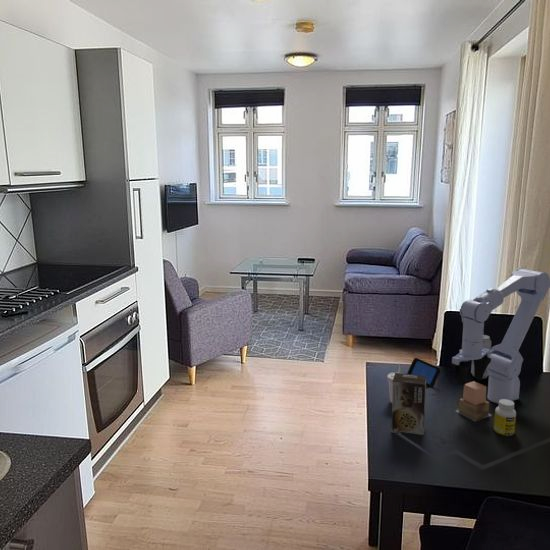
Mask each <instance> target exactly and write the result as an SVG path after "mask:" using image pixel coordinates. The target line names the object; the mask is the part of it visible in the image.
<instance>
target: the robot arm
mask: <svg viewBox="0 0 550 550" xmlns="http://www.w3.org/2000/svg"><path fill="white" fill-rule="evenodd" d="M549 289H550V276H549V273H548V272H546V271H536V270H532V269H526V268H523V267H517V268H516V269H514V271H511V273H510V277H509V278H507V280H505V281H503V283H502V284H500V285H499V286H498V287H497V288H494V287H488V288H487V289H486V290H485V291H484V292H482V293H481V294H479V295H478V296H476V297H474V299H467V300H465V301H463V303H462V304H461V305H460V308H459V314H460V316H461V322H462V340H461V341H462V343H461V349H459V353H457V354H456V355H455V356H452V357H451V361H450V365H451V367H452V368H453V370H454V372H455V376H456V381H457V385H460V386H462V387H464V385H465V384H467V383H466V381H467V376H468V372H469V369H470V367H471V365H467V364H466V362H469V361H472V360H473V361H474V376H475V377H474V376H473V377H474V379H476V380H479V381H482V380H483V379H482V378H483V375H484V372H485V370H486V369H487V373H489V375H488V384H487V395H486V398H487V400H489V401H490V402H493V403H496V404H499V400H501V399H507V400H511V401H513V402H514V401H516V400H519V399H520V396H519V395H520V387H521V381H520V378H519V376H520V373H521V369H522V365H523V362H524V358H523V356H522V354H521V353H520V351H519V350H520V348H521V346H522V343H523V341H524V340H525V337H526V335H527V333H528V331H529V329H530V326H531V324H532V322H533V321H534V318H535V316H536V314H537V311H538V310H539V307H540V306H541V302H543V301H544V299H545V298H546V296H547V293H548V292H549ZM515 292H516V294H517V295H518V296H520V299H521V301H520V303H519V305H518V307H517V310H516V311H515V313H514V316H513V318H512V320H511V323H510V324H509V327H508V328H507V331H506V333H505V335H504V337H503V339H502V341H501V343H499V344H496V345H494V346H491V351H490V350H489V349H486V348H484V349H482V345H483V335H484V329H485V328H484V327H485V321H487V320H488V318H489V317H490V315H491V314H492V312H493V311H494V310H496V309H497V308H498V307H499V306H501V305H503V303H504V301H505V299H504V298H506V297H508V296H510V295H512V294H514V293H515Z"/></svg>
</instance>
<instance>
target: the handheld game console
mask: <svg viewBox="0 0 550 550" xmlns="http://www.w3.org/2000/svg"><path fill="white" fill-rule="evenodd" d="M441 371H442V370H441V368H440V367H439V366H436V365H434V364H431V363H429V362H427V361H424V360H423V359H420V358H417V357H415V358H413V360H412V362H411V364H410V366H409V369H408V371H407V373H406V374H413V375H423V376H426V390H428V389H429V388H432V389H434V386H435V385H436V382H437V380H438V377H439V376H440V373H441Z"/></svg>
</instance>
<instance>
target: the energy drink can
mask: <svg viewBox="0 0 550 550" xmlns="http://www.w3.org/2000/svg"><path fill="white" fill-rule="evenodd" d="M484 348H486V349H489V350H490V351H491V349H492V340H491V338H490V336H489V335H487V334H483V345H482V349H484ZM470 367H471V369H470V372H471V374H472V377H474V378H475V376H474V361H473V360H471V365H470ZM488 377H489V373H487V369H486V370H485V372H484V375H483V378H482V380H483V379H487V378H488Z"/></svg>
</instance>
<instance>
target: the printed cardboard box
mask: <svg viewBox="0 0 550 550" xmlns="http://www.w3.org/2000/svg"><path fill="white" fill-rule="evenodd" d="M394 373H395V375H394V378H393V400H392V403H391V405H392V406H391V407H392V408H391V411H392V413H391V433H392V434H399V435H402V433H406V434H413V435H414V434H415V435H421V436H424V435H425V427H426V425H425V423H426V401H427V399H426V396H427V395H426V394H427V389H426V376H423V375H413V374H407V373H403V374H402V372H400V373H398V372H394Z"/></svg>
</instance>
